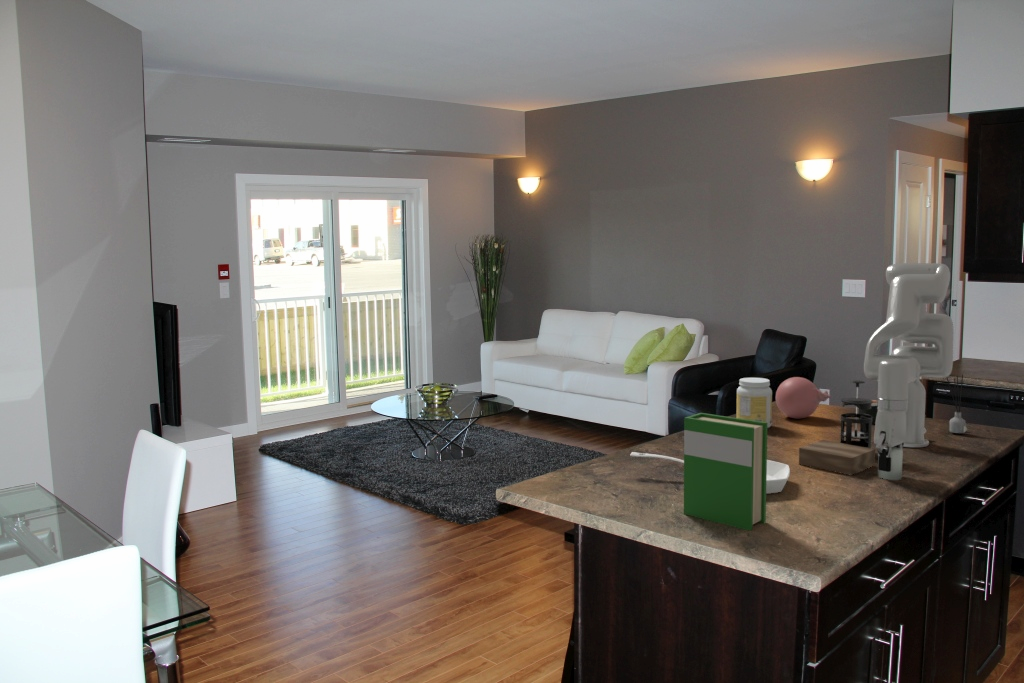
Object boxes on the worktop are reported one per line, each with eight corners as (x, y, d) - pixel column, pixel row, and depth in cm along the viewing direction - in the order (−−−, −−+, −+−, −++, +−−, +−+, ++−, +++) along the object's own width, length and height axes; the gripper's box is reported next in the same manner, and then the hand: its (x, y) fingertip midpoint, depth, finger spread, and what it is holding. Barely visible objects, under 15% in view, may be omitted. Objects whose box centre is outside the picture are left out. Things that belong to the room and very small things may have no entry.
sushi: (889, 423, 288) (890, 401, 287) (868, 425, 286) (869, 403, 285) (874, 419, 296) (875, 397, 295) (854, 420, 294) (855, 399, 293)
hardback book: (765, 522, 190) (767, 422, 187) (750, 530, 185) (752, 428, 182) (699, 506, 202) (700, 412, 199) (683, 514, 197) (684, 417, 194)
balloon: (821, 426, 286) (822, 383, 284) (767, 418, 299) (768, 378, 298) (838, 419, 297) (839, 377, 295) (786, 412, 310) (787, 372, 309)
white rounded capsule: (883, 472, 228) (884, 445, 227) (905, 477, 223) (906, 448, 222) (873, 477, 224) (874, 448, 223) (895, 481, 220) (896, 452, 219)
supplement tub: (747, 421, 296) (748, 375, 294) (778, 426, 287) (779, 379, 285) (729, 426, 288) (729, 380, 286) (760, 432, 279) (760, 384, 277)
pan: (788, 503, 204) (788, 478, 203) (620, 488, 219) (620, 464, 218) (790, 473, 229) (791, 451, 229) (640, 462, 244) (640, 441, 244)
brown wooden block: (822, 455, 247) (823, 439, 246) (874, 465, 235) (875, 449, 234) (798, 464, 238) (799, 448, 237) (851, 475, 226) (851, 458, 225)
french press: (861, 460, 241) (863, 384, 238) (831, 454, 248) (833, 381, 245) (880, 453, 248) (883, 379, 246) (851, 448, 256) (853, 376, 253)
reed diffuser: (960, 437, 266) (963, 377, 264) (938, 434, 271) (940, 375, 269) (970, 431, 273) (973, 373, 271) (948, 428, 278) (951, 371, 276)
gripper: (892, 398, 230) (890, 460, 232) (864, 407, 219) (861, 471, 221) (920, 402, 224) (917, 465, 226) (891, 411, 213) (889, 477, 215)
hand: (890, 467), depth 223 cm, fingers closed on white rounded capsule, 6 cm apart
